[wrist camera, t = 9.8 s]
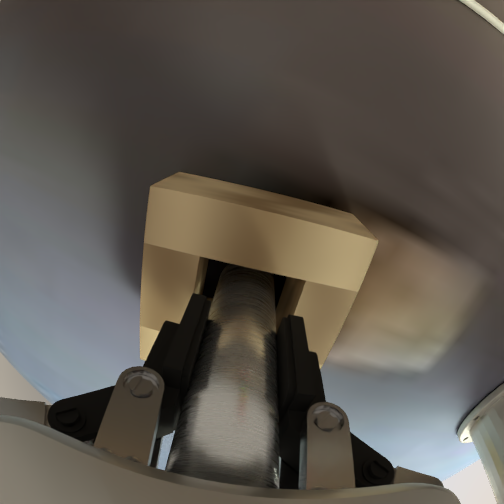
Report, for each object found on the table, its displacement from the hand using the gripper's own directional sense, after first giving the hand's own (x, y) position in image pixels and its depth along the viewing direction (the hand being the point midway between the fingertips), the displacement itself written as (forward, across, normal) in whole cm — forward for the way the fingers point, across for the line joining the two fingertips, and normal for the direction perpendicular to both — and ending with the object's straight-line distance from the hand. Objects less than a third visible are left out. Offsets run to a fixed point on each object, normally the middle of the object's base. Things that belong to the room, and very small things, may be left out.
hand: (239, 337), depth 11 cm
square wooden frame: (+6, 0, 0) cm, 6 cm away
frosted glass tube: (+4, 0, 0) cm, 4 cm away
